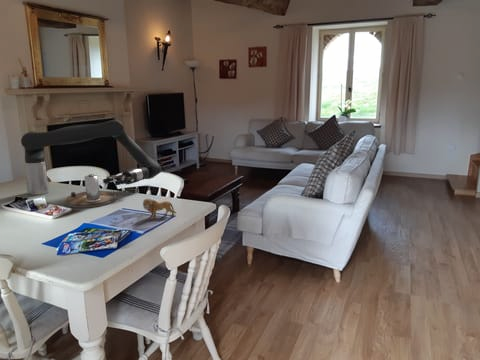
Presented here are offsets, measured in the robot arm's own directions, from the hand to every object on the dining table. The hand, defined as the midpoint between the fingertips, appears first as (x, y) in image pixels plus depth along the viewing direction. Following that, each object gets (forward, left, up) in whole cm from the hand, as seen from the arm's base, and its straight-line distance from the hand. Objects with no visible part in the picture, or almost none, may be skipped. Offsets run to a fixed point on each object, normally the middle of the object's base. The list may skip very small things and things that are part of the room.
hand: (109, 182), depth 187 cm
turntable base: (-9, -4, -9) cm, 13 cm away
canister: (-5, -10, -7) cm, 13 cm away
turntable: (-9, -4, -8) cm, 12 cm away
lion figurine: (+32, -25, -9) cm, 42 cm away
